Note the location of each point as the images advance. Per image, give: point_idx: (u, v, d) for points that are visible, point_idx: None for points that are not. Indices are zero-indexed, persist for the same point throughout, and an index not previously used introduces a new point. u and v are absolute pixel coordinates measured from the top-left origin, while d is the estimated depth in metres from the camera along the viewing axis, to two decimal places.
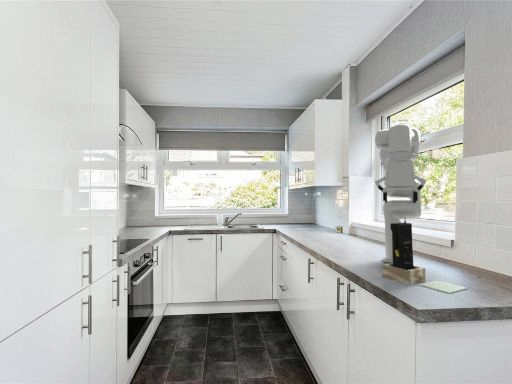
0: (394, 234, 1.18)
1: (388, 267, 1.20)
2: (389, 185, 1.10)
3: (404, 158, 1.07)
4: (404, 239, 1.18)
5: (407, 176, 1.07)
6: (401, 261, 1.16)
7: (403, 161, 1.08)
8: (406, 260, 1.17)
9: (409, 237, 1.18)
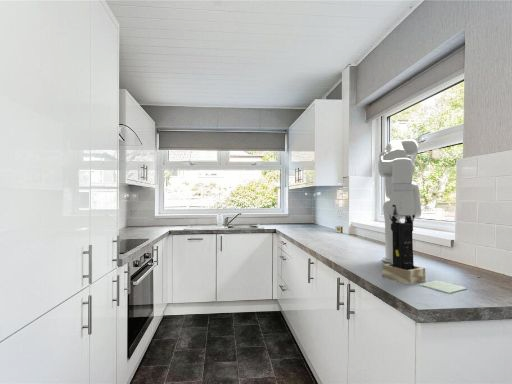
0: (394, 234, 1.18)
1: (388, 267, 1.20)
2: (401, 214, 1.16)
3: (412, 190, 1.18)
4: (405, 239, 1.18)
5: (411, 206, 1.19)
6: (401, 261, 1.16)
7: (409, 192, 1.18)
8: (406, 260, 1.17)
9: (409, 237, 1.19)
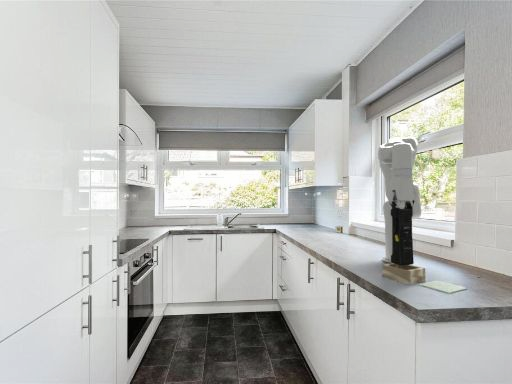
0: (394, 219, 1.19)
1: (388, 267, 1.20)
2: (400, 199, 1.17)
3: None
4: (404, 224, 1.18)
5: (411, 191, 1.19)
6: (401, 246, 1.17)
7: (409, 177, 1.18)
8: (406, 245, 1.17)
9: (409, 222, 1.19)
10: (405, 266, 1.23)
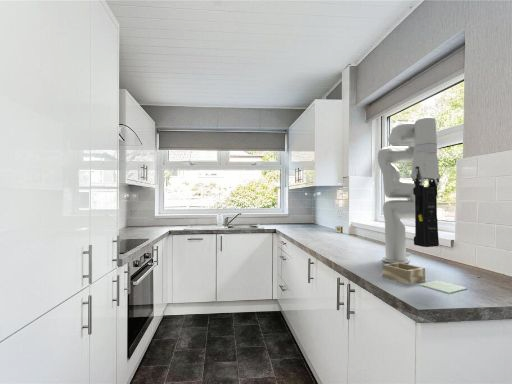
0: (417, 198, 1.11)
1: (388, 267, 1.20)
2: (424, 176, 1.10)
3: (436, 151, 1.11)
4: (428, 203, 1.11)
5: (435, 168, 1.12)
6: (425, 226, 1.09)
7: (433, 153, 1.11)
8: (430, 225, 1.10)
9: (433, 201, 1.12)
10: (405, 266, 1.23)
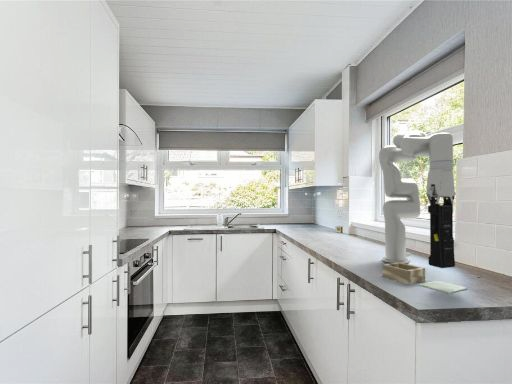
0: (433, 217, 1.07)
1: (388, 267, 1.20)
2: (441, 194, 1.05)
3: (452, 168, 1.06)
4: (444, 222, 1.06)
5: (451, 186, 1.08)
6: (441, 246, 1.05)
7: (449, 171, 1.07)
8: (446, 245, 1.06)
9: (449, 220, 1.07)
10: (405, 266, 1.23)
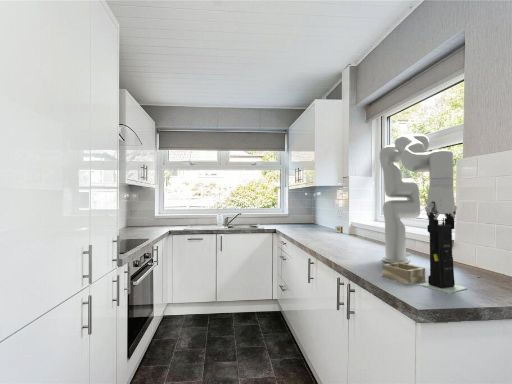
0: (433, 237, 1.07)
1: (388, 267, 1.20)
2: (441, 212, 1.05)
3: None
4: (444, 242, 1.07)
5: (451, 203, 1.08)
6: (441, 266, 1.05)
7: (450, 188, 1.07)
8: (446, 265, 1.06)
9: (449, 240, 1.08)
10: (405, 266, 1.23)
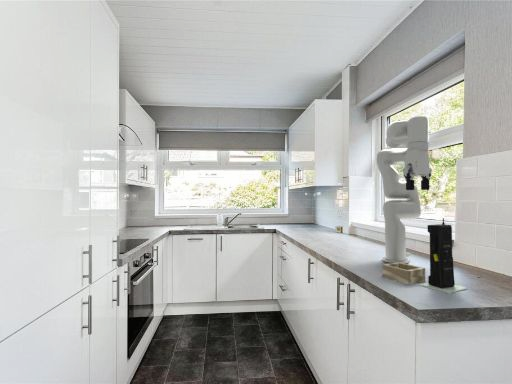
0: (433, 237, 1.07)
1: (388, 267, 1.20)
2: (416, 173, 1.14)
3: None
4: (444, 242, 1.07)
5: (427, 165, 1.17)
6: (441, 266, 1.05)
7: (425, 151, 1.16)
8: (446, 265, 1.06)
9: (449, 240, 1.08)
10: (405, 266, 1.23)
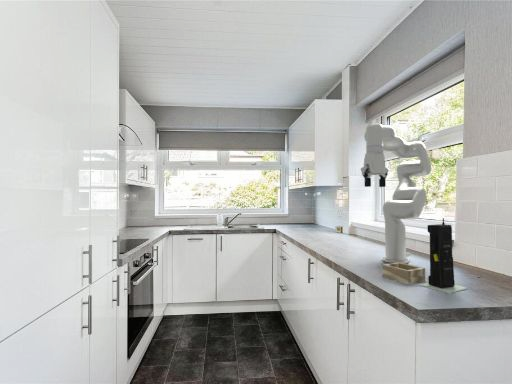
0: (433, 237, 1.07)
1: (388, 267, 1.20)
2: (373, 172, 1.35)
3: (382, 151, 1.36)
4: (444, 242, 1.07)
5: (382, 165, 1.38)
6: (441, 266, 1.05)
7: (380, 153, 1.37)
8: (446, 265, 1.06)
9: (449, 240, 1.08)
10: (405, 266, 1.23)
